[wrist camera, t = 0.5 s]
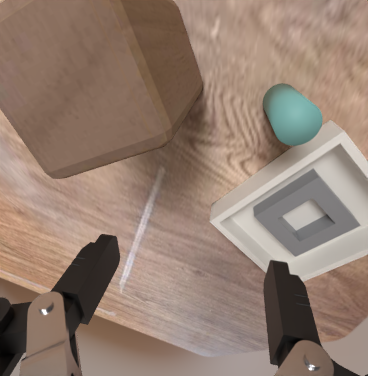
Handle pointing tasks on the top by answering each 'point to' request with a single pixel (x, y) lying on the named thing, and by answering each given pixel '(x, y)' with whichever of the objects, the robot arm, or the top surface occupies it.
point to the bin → (302, 207)
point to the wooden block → (94, 79)
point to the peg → (291, 115)
